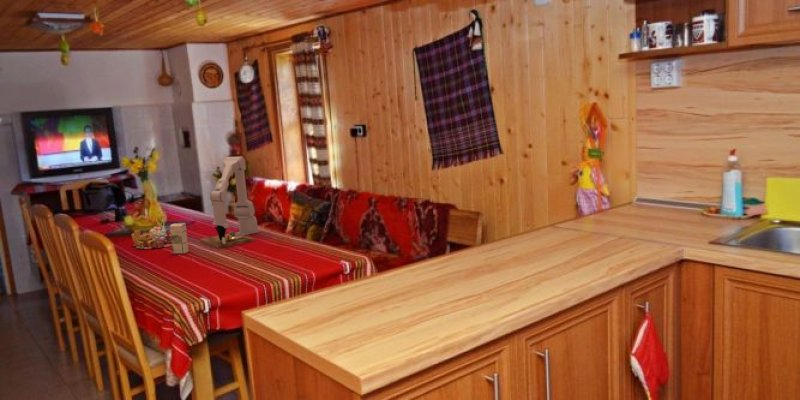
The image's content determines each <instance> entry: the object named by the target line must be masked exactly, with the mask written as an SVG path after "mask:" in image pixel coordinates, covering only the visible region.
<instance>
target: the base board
mask: <svg viewBox="0 0 800 400" xmlns="http://www.w3.org/2000/svg"><path fill="white" fill-rule="evenodd" d="M234 232H235V231H234ZM226 234H227V233H225V235H226ZM235 234H239V233H237V232H235ZM242 236H243V238H241V239H239V240H233V241H232V242H227V243H226V244H223V243H222V240H220V239H219V235H216V236H211V237H204V238H200V239H199V242H200V243H202V244H205V245H207V246H210V247H213V248H215V249H222V248H228V247H232V246H236V245H237V246H238V245H241V244H246V243H247V244H248V243H252V242H255V238H254V237H251V236H247V235H242Z"/></svg>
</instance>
